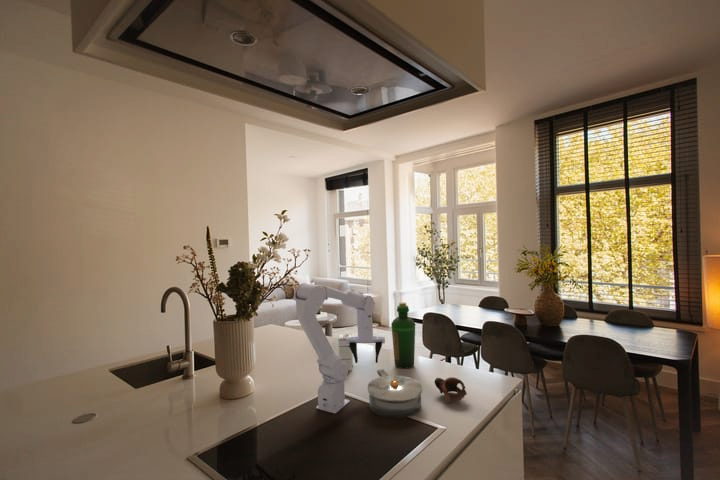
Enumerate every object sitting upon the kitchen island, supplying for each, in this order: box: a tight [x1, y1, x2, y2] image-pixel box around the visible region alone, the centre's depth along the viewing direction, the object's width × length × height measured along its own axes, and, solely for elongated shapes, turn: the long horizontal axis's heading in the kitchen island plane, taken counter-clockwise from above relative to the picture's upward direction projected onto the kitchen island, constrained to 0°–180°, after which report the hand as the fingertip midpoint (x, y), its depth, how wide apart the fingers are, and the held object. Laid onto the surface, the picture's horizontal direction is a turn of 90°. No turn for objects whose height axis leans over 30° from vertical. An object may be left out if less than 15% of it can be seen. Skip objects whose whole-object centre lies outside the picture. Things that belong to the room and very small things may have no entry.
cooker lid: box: [367, 369, 423, 402], centre depth 121 cm, size 25×18×3 cm
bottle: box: [390, 302, 416, 370], centre depth 154 cm, size 11×11×28 cm
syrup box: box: [337, 333, 354, 372], centre depth 152 cm, size 6×6×14 cm
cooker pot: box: [368, 393, 422, 419], centre depth 121 cm, size 24×18×5 cm
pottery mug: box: [434, 377, 468, 404], centre depth 122 cm, size 12×10×8 cm
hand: (366, 362), depth 130 cm, fingers open, 7 cm apart
